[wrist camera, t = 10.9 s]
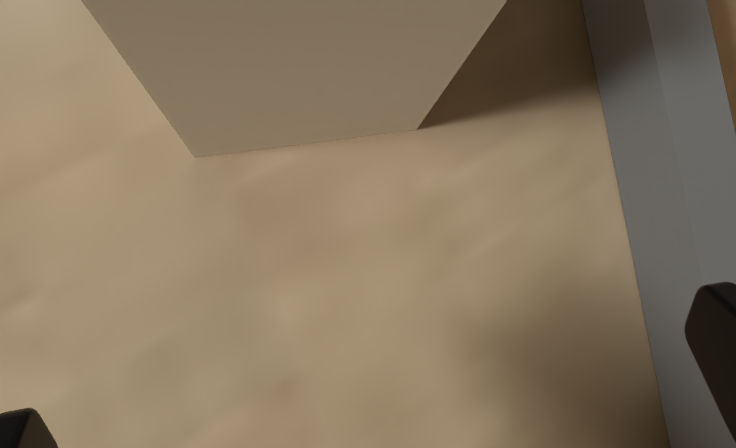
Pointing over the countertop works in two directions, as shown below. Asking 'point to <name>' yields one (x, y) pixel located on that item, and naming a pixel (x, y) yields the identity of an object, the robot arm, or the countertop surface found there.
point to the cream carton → (292, 64)
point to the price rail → (670, 182)
